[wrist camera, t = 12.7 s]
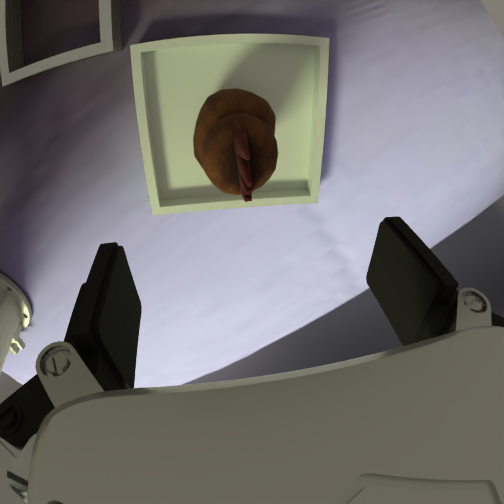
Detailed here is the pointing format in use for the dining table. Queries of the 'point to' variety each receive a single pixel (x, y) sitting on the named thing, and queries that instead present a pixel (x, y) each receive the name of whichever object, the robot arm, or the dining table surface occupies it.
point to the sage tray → (229, 77)
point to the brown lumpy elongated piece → (236, 141)
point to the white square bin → (12, 57)
